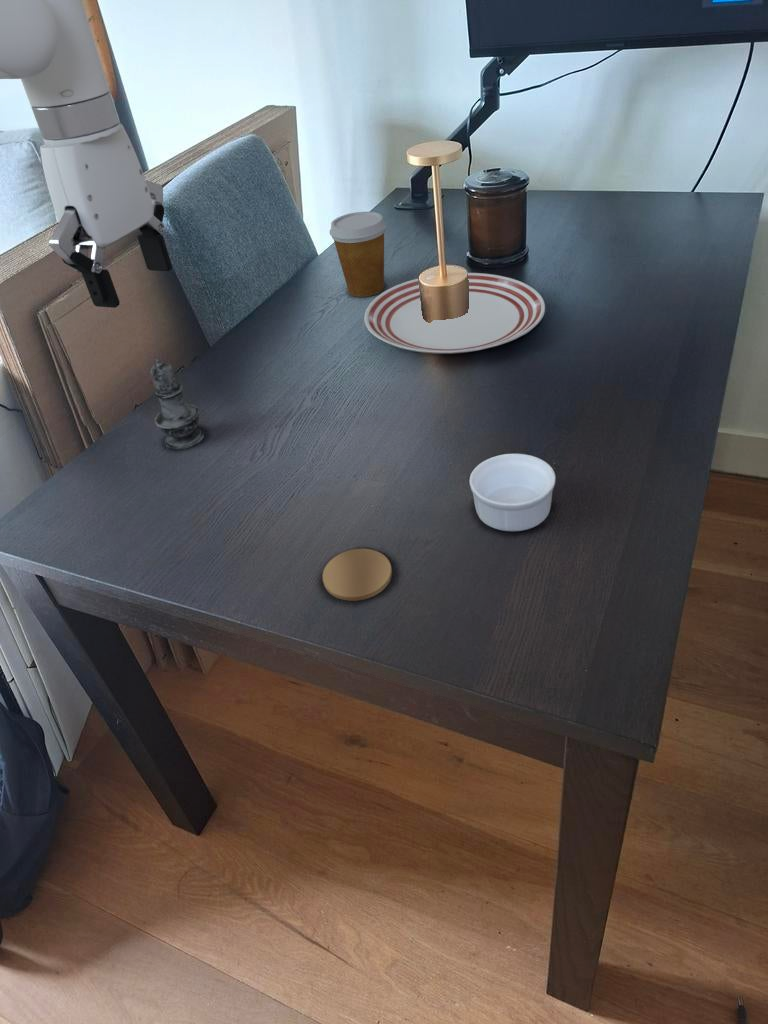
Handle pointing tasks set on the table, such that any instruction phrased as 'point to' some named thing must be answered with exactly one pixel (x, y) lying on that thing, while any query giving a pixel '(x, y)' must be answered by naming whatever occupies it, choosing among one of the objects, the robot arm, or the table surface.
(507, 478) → the ramekin
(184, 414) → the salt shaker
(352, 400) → the table surface
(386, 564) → the coaster
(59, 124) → the robot arm
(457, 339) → the dinner plate
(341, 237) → the disposable coffee cup
